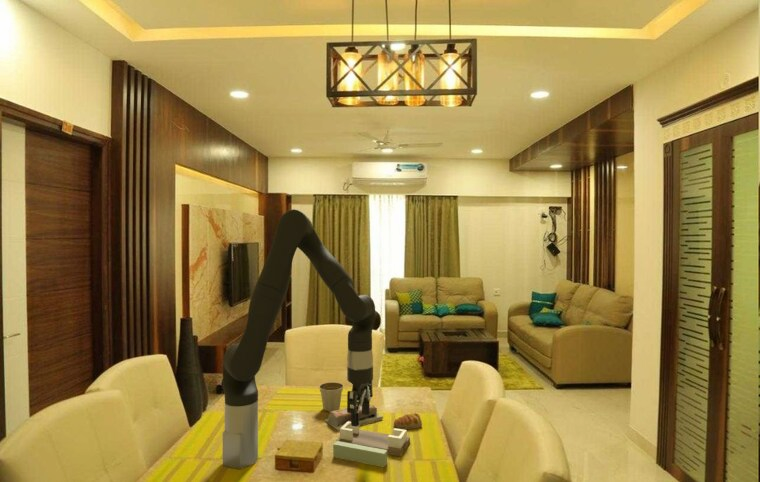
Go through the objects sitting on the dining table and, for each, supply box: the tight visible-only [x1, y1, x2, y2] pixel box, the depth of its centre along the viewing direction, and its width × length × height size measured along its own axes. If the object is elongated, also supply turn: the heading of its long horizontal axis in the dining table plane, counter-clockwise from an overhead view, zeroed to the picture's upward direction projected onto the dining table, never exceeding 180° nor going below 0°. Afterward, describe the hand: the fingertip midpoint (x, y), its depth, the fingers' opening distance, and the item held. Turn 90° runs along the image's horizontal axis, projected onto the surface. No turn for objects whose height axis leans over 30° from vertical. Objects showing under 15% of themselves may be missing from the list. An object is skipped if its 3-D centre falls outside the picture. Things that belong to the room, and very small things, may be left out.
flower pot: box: [318, 381, 345, 413], centre depth 172 cm, size 9×9×9 cm
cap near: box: [388, 427, 408, 449], centre depth 140 cm, size 6×4×3 cm, turn 160°
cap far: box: [339, 421, 360, 440], centre depth 146 cm, size 6×4×3 cm, turn 160°
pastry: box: [393, 412, 423, 430], centre depth 157 cm, size 9×7×4 cm
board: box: [335, 429, 411, 457], centre depth 143 cm, size 10×21×2 cm, turn 70°
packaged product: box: [324, 404, 384, 432], centre depth 161 cm, size 18×5×10 cm
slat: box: [332, 440, 388, 468], centre depth 133 cm, size 2×16×4 cm, turn 69°
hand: (360, 419), depth 133 cm, fingers open, 8 cm apart
